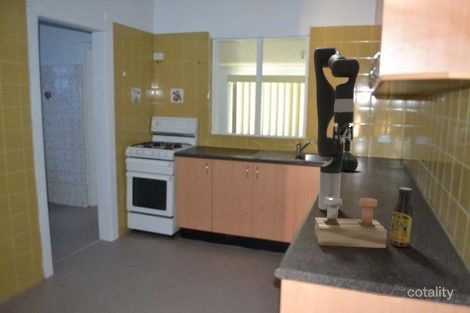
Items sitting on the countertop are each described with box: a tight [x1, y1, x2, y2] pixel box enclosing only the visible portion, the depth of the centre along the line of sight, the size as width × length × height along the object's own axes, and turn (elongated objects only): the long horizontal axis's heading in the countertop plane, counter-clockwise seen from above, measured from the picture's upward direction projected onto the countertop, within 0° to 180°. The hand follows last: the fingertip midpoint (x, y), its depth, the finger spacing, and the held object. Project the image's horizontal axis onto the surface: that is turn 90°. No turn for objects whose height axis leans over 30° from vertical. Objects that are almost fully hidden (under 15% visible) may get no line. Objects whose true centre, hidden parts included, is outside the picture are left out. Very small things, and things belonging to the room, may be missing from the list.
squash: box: [341, 151, 359, 173], centre depth 274 cm, size 14×15×15 cm
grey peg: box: [324, 197, 343, 222], centre depth 130 cm, size 6×6×8 cm
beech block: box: [314, 217, 388, 249], centre depth 131 cm, size 12×22×6 cm, turn 86°
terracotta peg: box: [358, 197, 378, 223], centre depth 130 cm, size 6×6×8 cm
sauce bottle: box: [389, 186, 414, 248], centre depth 127 cm, size 7×6×20 cm
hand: (342, 152), depth 147 cm, fingers open, 8 cm apart
